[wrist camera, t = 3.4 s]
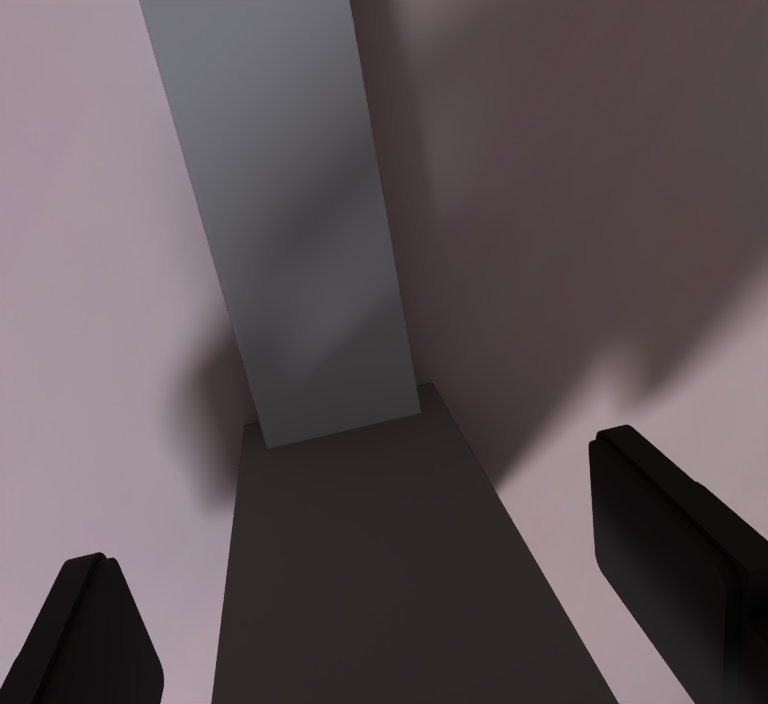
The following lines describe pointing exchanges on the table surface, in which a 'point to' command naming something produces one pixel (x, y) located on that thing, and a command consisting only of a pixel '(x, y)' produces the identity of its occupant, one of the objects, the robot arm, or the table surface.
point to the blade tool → (341, 399)
